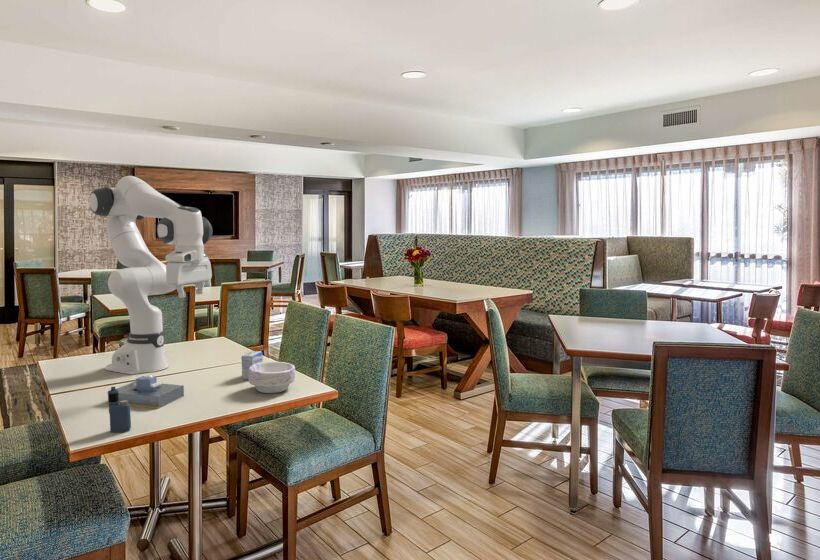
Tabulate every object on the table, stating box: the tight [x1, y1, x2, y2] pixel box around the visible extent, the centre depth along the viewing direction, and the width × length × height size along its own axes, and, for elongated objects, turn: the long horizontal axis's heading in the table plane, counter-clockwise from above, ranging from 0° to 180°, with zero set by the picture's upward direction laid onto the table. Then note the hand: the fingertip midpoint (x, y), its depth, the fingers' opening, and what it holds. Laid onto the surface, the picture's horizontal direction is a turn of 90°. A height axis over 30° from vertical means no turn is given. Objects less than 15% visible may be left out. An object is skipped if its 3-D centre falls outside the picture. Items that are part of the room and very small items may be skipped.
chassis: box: [106, 380, 185, 409], centre depth 170 cm, size 18×13×4 cm
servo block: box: [134, 374, 161, 392], centre depth 171 cm, size 7×3×8 cm, turn 77°
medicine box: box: [241, 350, 264, 381], centre depth 197 cm, size 8×4×9 cm, turn 168°
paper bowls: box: [248, 361, 296, 394], centre depth 183 cm, size 15×15×8 cm
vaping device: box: [107, 386, 132, 433], centre depth 145 cm, size 3×5×12 cm, turn 95°
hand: (191, 295), depth 183 cm, fingers open, 8 cm apart
